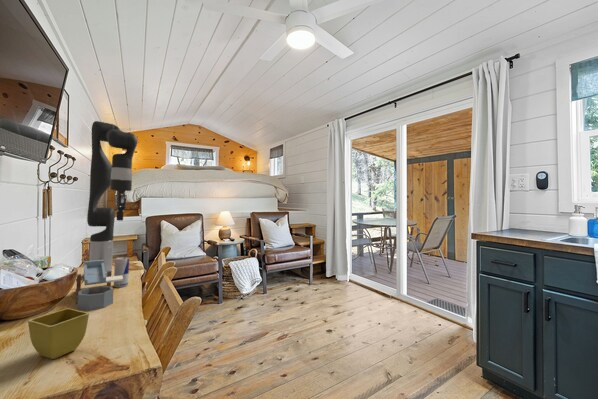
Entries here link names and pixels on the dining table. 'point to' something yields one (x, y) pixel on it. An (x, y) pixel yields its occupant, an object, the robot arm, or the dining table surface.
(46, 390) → the dining table surface
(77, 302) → the lever stand
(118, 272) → the energy drink
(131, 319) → the dining table surface
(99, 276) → the ramp lever
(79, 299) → the gray octagonal bowl
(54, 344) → the flower pot
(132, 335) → the dining table surface
